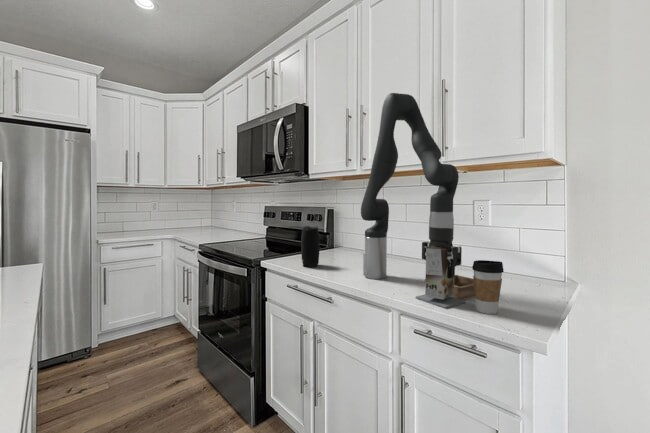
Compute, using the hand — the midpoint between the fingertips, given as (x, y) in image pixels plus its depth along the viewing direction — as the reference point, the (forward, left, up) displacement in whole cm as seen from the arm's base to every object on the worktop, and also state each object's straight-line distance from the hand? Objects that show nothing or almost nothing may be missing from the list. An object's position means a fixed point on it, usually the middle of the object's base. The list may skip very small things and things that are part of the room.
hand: (440, 275), depth 107 cm
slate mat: (0, 0, -8) cm, 8 cm away
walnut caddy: (-3, +13, -8) cm, 16 cm away
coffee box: (0, 0, -7) cm, 7 cm away
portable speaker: (-70, -10, -9) cm, 71 cm away
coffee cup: (+14, +4, -9) cm, 17 cm away
